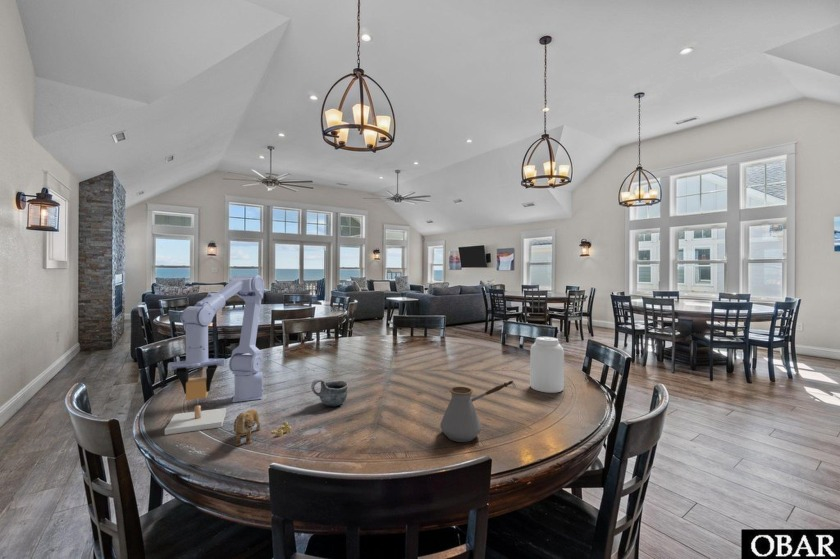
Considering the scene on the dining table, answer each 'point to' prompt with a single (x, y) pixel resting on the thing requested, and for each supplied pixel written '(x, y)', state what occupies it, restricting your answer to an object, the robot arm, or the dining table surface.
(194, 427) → the plate
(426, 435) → the dining table surface
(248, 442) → the lion figurine
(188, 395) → the orange cube
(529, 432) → the dining table surface
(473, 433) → the coffee pot
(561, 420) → the dining table surface
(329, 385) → the mug
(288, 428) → the dice set
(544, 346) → the white jar
